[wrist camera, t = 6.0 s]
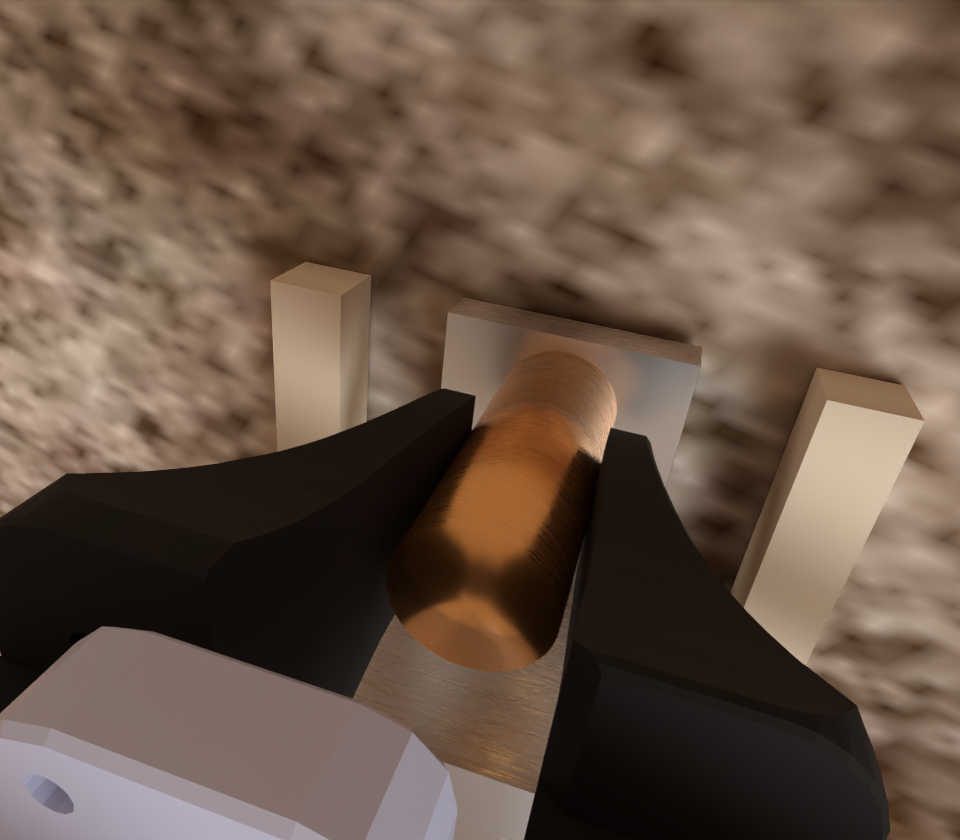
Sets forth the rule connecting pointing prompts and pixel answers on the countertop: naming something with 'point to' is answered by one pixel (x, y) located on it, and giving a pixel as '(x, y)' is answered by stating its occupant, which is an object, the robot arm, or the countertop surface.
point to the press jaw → (513, 541)
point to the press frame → (789, 504)
